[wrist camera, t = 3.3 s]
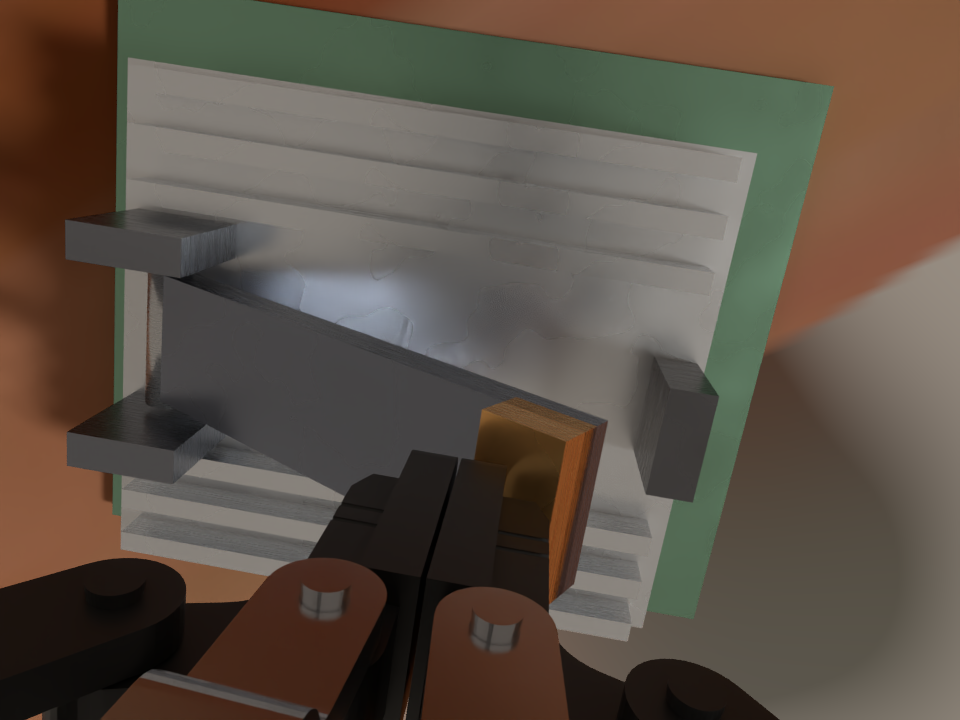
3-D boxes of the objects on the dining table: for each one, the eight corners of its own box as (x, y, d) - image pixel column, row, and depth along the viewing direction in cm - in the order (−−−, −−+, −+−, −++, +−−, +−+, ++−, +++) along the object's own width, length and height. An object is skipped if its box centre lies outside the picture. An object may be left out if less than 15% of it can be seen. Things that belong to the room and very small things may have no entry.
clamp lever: (173, 391, 19) (116, 403, 18) (178, 257, 18) (118, 260, 17) (574, 591, 13) (529, 629, 12) (612, 407, 12) (569, 429, 11)
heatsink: (130, -15, 21) (-86, -97, 14) (825, 87, 20) (976, 57, 13) (122, 506, 25) (-43, 645, 18) (690, 608, 25) (746, 796, 18)
